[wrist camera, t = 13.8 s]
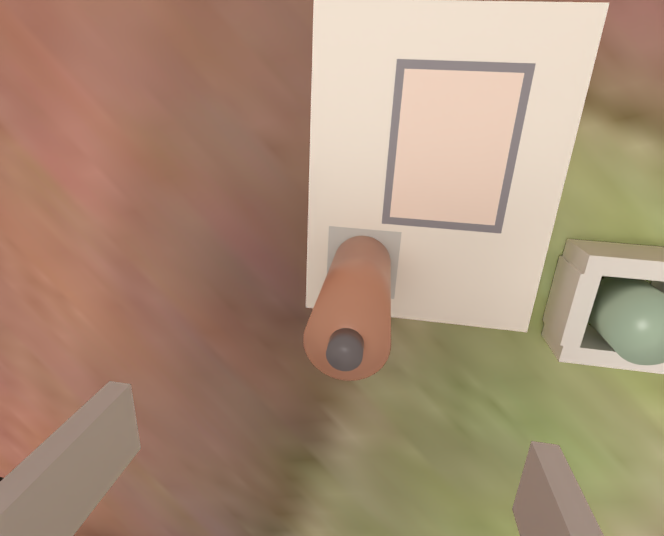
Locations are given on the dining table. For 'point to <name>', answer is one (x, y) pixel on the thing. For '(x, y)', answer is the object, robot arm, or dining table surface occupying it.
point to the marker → (352, 312)
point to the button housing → (579, 294)
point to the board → (446, 145)
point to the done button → (630, 319)
